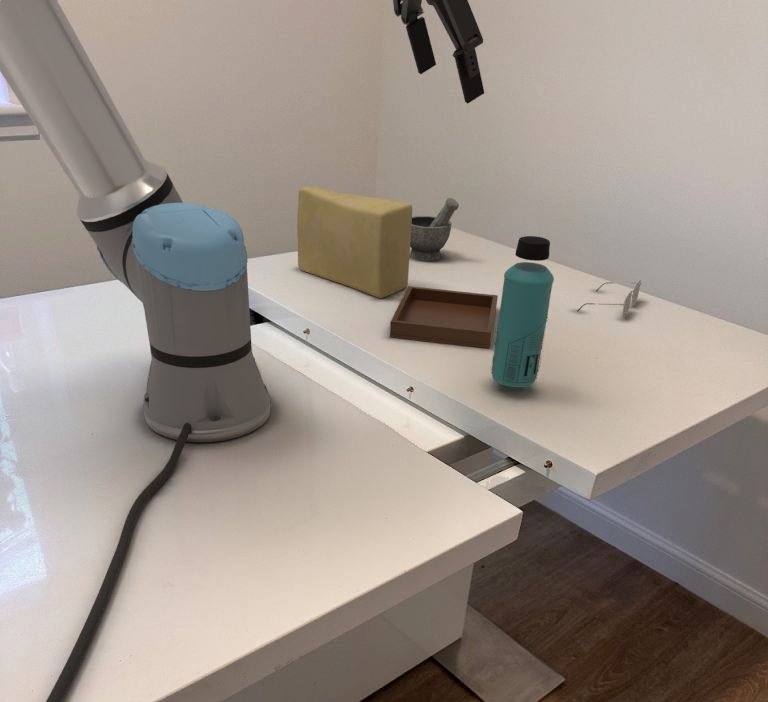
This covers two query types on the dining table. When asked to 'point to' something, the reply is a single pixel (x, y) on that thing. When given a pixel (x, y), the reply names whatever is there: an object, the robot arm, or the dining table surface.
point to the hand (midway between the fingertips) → (450, 82)
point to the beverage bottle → (523, 315)
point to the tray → (445, 317)
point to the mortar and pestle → (431, 232)
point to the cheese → (354, 240)
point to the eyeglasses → (627, 299)
